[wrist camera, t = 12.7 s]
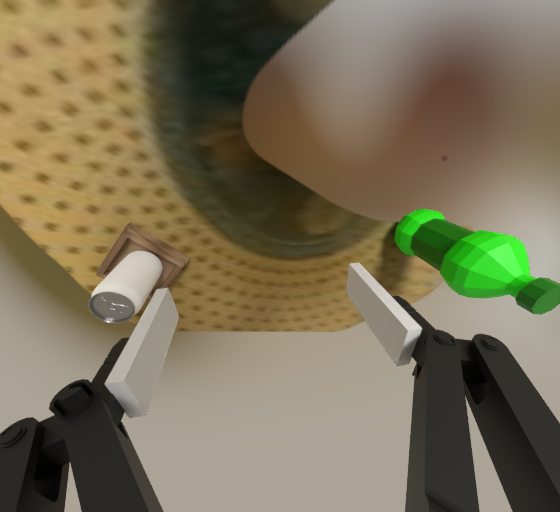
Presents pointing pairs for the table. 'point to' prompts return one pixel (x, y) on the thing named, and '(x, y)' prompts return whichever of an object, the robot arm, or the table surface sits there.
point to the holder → (144, 241)
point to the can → (126, 287)
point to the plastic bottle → (476, 260)
